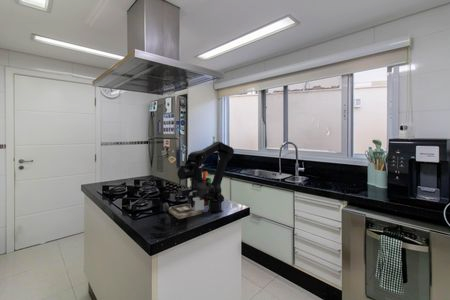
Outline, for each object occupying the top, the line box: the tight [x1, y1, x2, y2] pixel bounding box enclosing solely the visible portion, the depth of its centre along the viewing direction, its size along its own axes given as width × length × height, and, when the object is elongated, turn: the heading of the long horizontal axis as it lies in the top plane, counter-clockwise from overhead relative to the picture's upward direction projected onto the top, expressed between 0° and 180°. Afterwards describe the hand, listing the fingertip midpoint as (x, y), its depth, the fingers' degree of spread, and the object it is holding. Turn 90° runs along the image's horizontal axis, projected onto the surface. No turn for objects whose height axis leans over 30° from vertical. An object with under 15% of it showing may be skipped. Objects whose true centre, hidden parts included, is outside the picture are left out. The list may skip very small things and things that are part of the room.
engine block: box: [190, 196, 205, 211], centre depth 118 cm, size 5×6×5 cm
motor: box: [195, 171, 212, 206], centre depth 145 cm, size 10×9×20 cm
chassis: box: [162, 199, 203, 220], centre depth 129 cm, size 17×18×5 cm
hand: (196, 206), depth 118 cm, fingers closed on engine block, 5 cm apart
